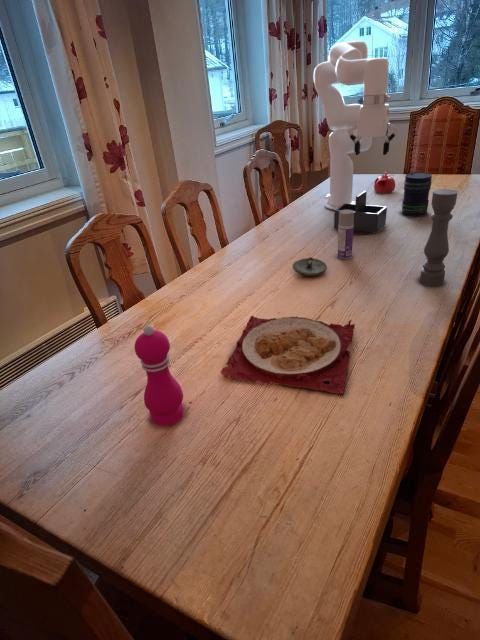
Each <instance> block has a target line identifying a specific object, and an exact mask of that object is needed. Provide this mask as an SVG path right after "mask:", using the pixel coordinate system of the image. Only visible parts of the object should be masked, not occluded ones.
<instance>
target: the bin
mask: <svg viewBox="0 0 480 640" xmlns="http://www.w3.org/2000/svg"><path fill="white" fill-rule="evenodd" d="M367 191H368V190H363V191H362V192H360V193H359V194H357V195H356V196H355V204H349V203H344V204H343V205H341V206H340V207H338V208H337V209H336V210H333V212H334V213H333V229H336V230H338V226H339V211H341V210H353V211H354V229H353V231H362V232H371V233H373V234H377V233H379V232H380V231H381V230H382V229H383V226H384V227H385V226H386V225H387V213H388V212H387V211H388V206H385V205H373V204H367V195H368V194H367V193H368V192H367Z"/></svg>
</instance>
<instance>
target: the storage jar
mask: <svg viewBox="0 0 480 640" xmlns="http://www.w3.org/2000/svg"><path fill="white" fill-rule="evenodd" d="M432 178H433V174H431V173H429V172H419V171H418V172H410V173H406V174H405V175H404V182H403V191H404V192H403V198H402V201H401V202H402V203H401V211H400V214H401V215H402V216H404V217H407V218H408V217H410V218H419V217H421V218H422V217H424V216H427V214H428V208H429V202H430V199H429V195H430V191H431V188H432V187H431V186H432Z"/></svg>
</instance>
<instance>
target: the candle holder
mask: <svg viewBox="0 0 480 640" xmlns="http://www.w3.org/2000/svg"><path fill="white" fill-rule="evenodd" d="M457 199H458V190H456V189H451V188H440V189H439V188H438V189H435V190H433V191H432V197H431V209H432V210H433V213H431V214H430V219H431V221H432V223H431V229H430V230H431V231H430V234H429V236H428V239H427V240H426V242H425V243H426V244H425V246H424V248H423V253H424V256H425V257H426V258H425V259H426V261H425V262H424V263H423V264H422V268H421V270H420V277H419V282H420V284H422V285H423V286H426V287H432V288H433V287H441V286H443V285H444V282H445V277H446V270H445V269H446V265H445V263H444V261H445V258H446V257H447V256H448V254H449V251H450V246H449V236H448V235H449V234H448V230H449V224H450V221H451V220H452V219H453V215H452V211H453V210H454V208H455V206H456V204H457Z"/></svg>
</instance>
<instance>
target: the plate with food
mask: <svg viewBox="0 0 480 640" xmlns="http://www.w3.org/2000/svg"><path fill="white" fill-rule="evenodd" d="M352 321H353V320H352V319H350V320H348V323H346V324H344V325H342V324H335V323H330V324H328V323H326V322H324V321H321V320H314V319H311V318H307V317H303V316H301V317H299V316H287V317H285V316H284V317H279V318H275V317H273V318H260V317H255V316H254V315H251V316H250V318H249V319H248V321H246V322H247V323H246V325H245V327H244V329H243V330H242V333H241V336H240V337H239V338H238V340H237V341H236V347H235V349H234V351H233V353H232V354H231V355H230V356H229V357H228V359H227V362H225V365H226V366H225V367H222V369H221V370H220V374H221V375H222V376H224V377H225V378H230V379H232V380H234V381H235V380H237V381H243V382H249V383H250V382H252V383H254V382H256V381H259V382H260V383H267V384H271V383H272V384H277V385H281V386H287V387H292V388H299V387H300V388H301V389H302V388H306V389H309V390H314V391H324V392H326V393H331V394H339V395H340V394H341V395H343V394H344V393H345V385H346V380H347V375H348V369H349V363H350V357H351V351H350V350H348V348H349V345H350V344H351V343H353V339H354V333H355V330H354V329H355V326H356V325H355V324H354V323H353V324H351V323H352ZM324 382H329V384H326V383H324Z"/></svg>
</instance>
